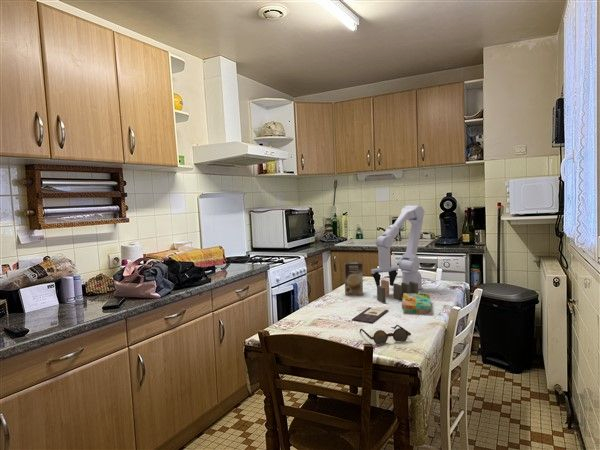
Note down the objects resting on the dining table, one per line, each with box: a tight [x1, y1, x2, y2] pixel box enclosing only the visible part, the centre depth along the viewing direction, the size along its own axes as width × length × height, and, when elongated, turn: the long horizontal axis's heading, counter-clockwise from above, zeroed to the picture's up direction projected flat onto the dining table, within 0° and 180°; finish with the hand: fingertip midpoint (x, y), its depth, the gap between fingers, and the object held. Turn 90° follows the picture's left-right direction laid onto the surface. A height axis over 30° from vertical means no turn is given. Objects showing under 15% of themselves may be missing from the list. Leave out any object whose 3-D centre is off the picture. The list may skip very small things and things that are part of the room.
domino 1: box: [380, 279, 390, 297], centre depth 197 cm, size 2×5×7 cm, turn 18°
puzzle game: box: [401, 293, 432, 315], centre depth 174 cm, size 12×5×20 cm
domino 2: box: [376, 284, 387, 304], centre depth 185 cm, size 2×5×7 cm, turn 18°
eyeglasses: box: [359, 324, 412, 345], centre depth 142 cm, size 15×15×5 cm
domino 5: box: [409, 281, 419, 294], centre depth 191 cm, size 2×5×7 cm, turn 18°
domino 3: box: [392, 282, 403, 301], centre depth 188 cm, size 2×5×7 cm, turn 18°
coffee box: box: [344, 261, 364, 296], centre depth 201 cm, size 9×6×16 cm
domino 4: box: [400, 282, 410, 298], centre depth 189 cm, size 2×5×7 cm, turn 18°
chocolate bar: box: [351, 307, 389, 325], centre depth 165 cm, size 9×1×18 cm
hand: (384, 286), depth 197 cm, fingers open, 7 cm apart
